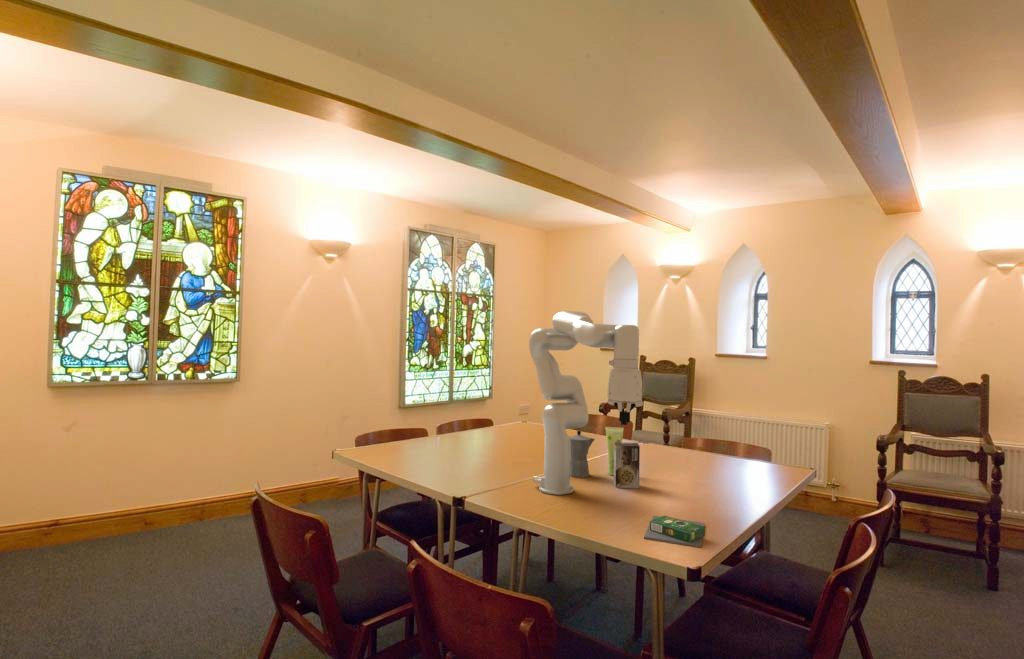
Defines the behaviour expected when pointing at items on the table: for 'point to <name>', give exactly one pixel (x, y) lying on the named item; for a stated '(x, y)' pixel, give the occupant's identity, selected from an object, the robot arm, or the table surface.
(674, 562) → the table surface
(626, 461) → the coffee box
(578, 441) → the coffeepot
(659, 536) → the mat
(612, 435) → the tube
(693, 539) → the coffee box
